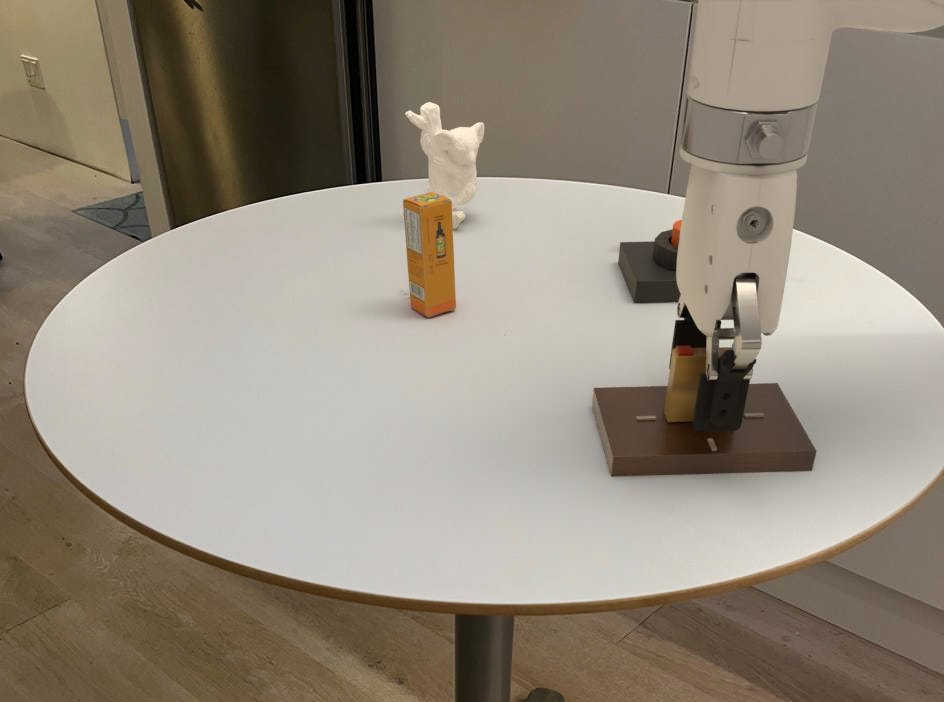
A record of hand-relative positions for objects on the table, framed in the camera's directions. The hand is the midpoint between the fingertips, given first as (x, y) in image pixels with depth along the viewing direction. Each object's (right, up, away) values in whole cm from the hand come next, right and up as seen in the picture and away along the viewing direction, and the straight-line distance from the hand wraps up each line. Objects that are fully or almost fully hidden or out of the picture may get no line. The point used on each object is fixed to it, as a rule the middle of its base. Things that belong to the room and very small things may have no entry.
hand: (702, 398), depth 72 cm
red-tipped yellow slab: (0, -1, +1) cm, 1 cm away
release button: (+5, +21, +25) cm, 33 cm away
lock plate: (0, -3, +3) cm, 4 cm away
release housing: (+5, +18, +27) cm, 33 cm away
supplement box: (-20, +14, +23) cm, 33 cm away
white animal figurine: (-19, +29, +40) cm, 53 cm away
